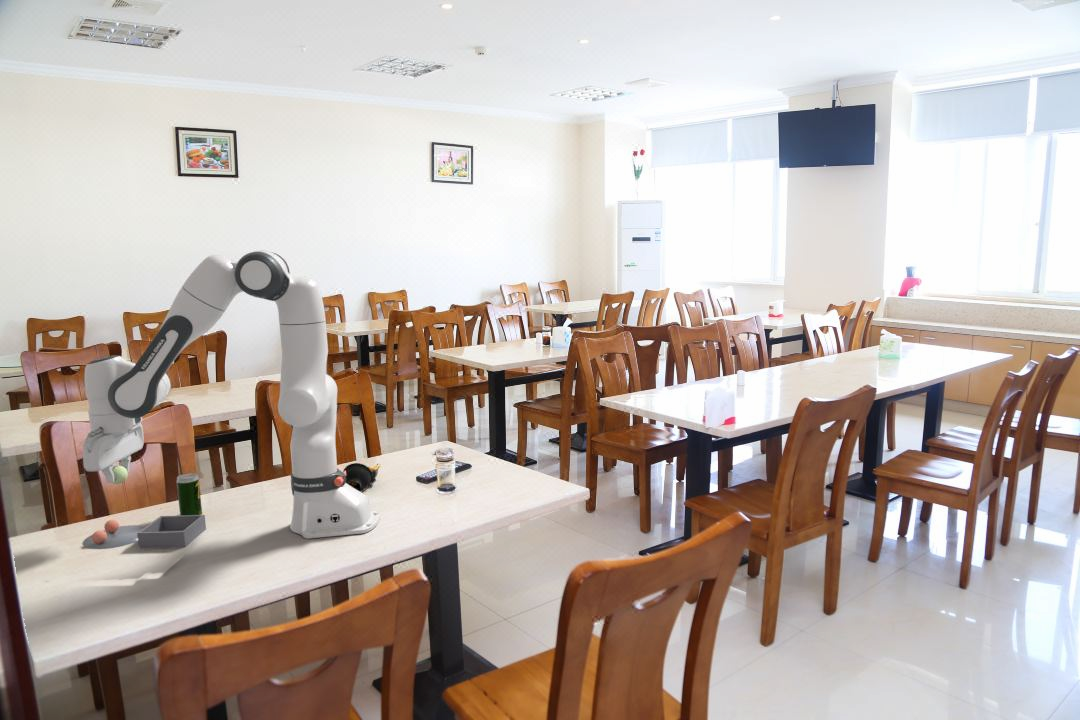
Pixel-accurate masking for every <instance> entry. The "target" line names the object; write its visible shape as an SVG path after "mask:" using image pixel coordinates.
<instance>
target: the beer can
mask: <svg viewBox="0 0 1080 720" xmlns="http://www.w3.org/2000/svg"><path fill="white" fill-rule="evenodd" d="M199 480H200V479H199V476H198V474H197V473H185V474H181V475H178V476H177V477H176V489H177V498H178V508H179V516H180V515H203V509H202V498H201V497H202V496H201V489H200V481H199Z"/></svg>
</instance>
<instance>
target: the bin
mask: <svg viewBox="0 0 1080 720" xmlns="http://www.w3.org/2000/svg"><path fill="white" fill-rule="evenodd" d="M206 523H207V522H206V515H205V514H202V515H180V514H179V515H160V516H158V517H157V518H156V519H154V520H153V521H152V522H150V523H149V524H148V525H146V527H145V528H143V529H142V530H141V531H139V532H138V533H137V537H138V541H137V544H138V549H172V548H173V549H174V548H175V549H176V548H180V549H181V548H187V547H188V546H189V545H190V544H191V543H192V542H194V541H195V540H196V539H197V538H198V537H199V536H201V534H202V533H203V534H204V532H205V531H206V530H207V525H206Z"/></svg>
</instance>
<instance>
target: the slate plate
mask: <svg viewBox="0 0 1080 720" xmlns="http://www.w3.org/2000/svg"><path fill="white" fill-rule="evenodd" d="M146 526H147V525H146ZM146 526H145V525H142V524H141V525H140V524H139V525H138V524H137V525H135V524H131V525H121V526H120V525H119V528H118V529H117V531H115V532H113V533H109V532H107V531H106V530H105V529H104V530H102V531H104V532H106V534H107V539H106V540H105V542H103V543H101V544H97V543H94V542H93V540H92V535H93V534H91V535H89V536H88V537H85V539H83V541H82V546H83V547H84V548H87V549H90V550H106V549H107V550H110V549H114V548H119V547H125V546H129V545H131V544H135V543H138V537H137V533H138V532H139V531H141V530H142V529H143V528H145V527H146Z"/></svg>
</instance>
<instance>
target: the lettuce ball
mask: <svg viewBox="0 0 1080 720" xmlns="http://www.w3.org/2000/svg"><path fill="white" fill-rule="evenodd" d="M112 471H113V473H114V474H116V478H117V479H116V481H114V482H112V483H111V484H115V485H116V484H117V485H119V484H122V483H123V482H125V481H126V480H127V478H128V476H129V473H128V472H127V470H126V469H125V468H124V467H122V466H121V465H114V466H113V468H112Z"/></svg>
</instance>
